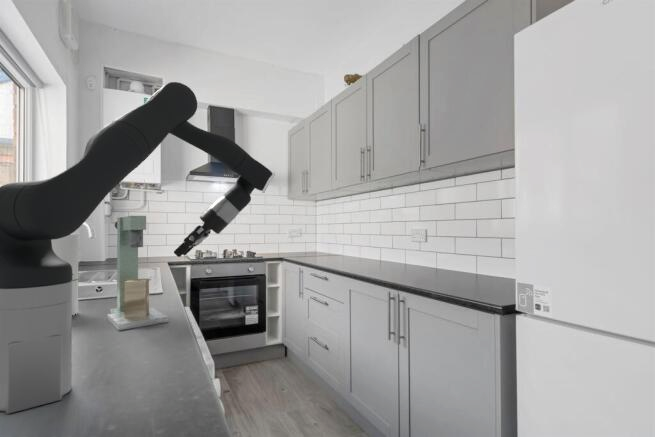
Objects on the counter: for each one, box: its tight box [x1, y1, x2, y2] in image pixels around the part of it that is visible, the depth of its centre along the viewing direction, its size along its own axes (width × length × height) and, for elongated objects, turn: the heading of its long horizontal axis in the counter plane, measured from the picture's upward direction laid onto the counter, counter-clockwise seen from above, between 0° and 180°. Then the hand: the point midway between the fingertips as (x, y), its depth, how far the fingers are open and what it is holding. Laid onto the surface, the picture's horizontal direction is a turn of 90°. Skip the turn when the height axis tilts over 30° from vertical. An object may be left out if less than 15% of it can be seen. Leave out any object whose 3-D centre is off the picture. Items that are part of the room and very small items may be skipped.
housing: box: [125, 278, 150, 318], centre depth 100 cm, size 5×5×10 cm
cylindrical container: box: [51, 234, 79, 316], centre depth 109 cm, size 7×7×25 cm
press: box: [107, 215, 169, 332], centre depth 106 cm, size 33×12×30 cm, turn 41°
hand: (179, 254), depth 101 cm, fingers open, 8 cm apart
